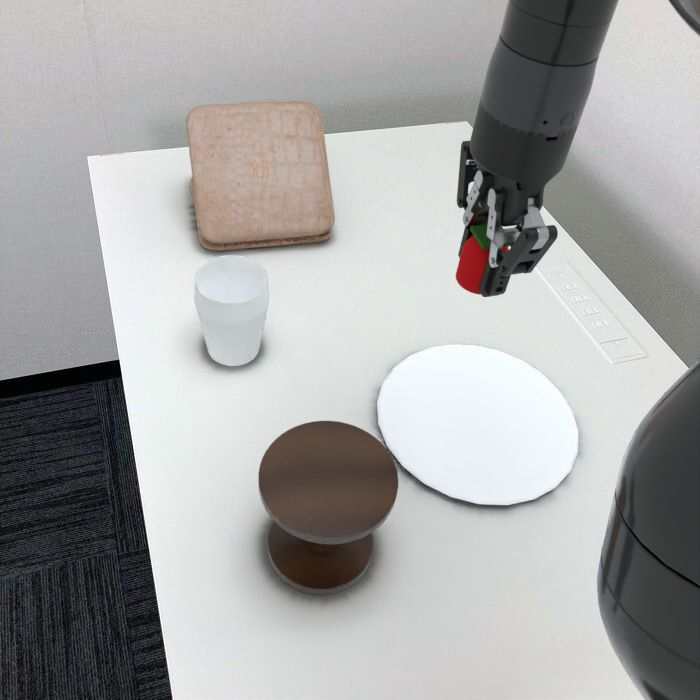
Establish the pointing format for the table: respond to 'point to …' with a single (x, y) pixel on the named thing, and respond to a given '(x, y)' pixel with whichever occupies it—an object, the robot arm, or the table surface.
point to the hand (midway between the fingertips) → (480, 275)
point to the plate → (477, 425)
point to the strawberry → (475, 259)
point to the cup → (232, 307)
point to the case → (259, 174)
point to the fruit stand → (325, 503)
